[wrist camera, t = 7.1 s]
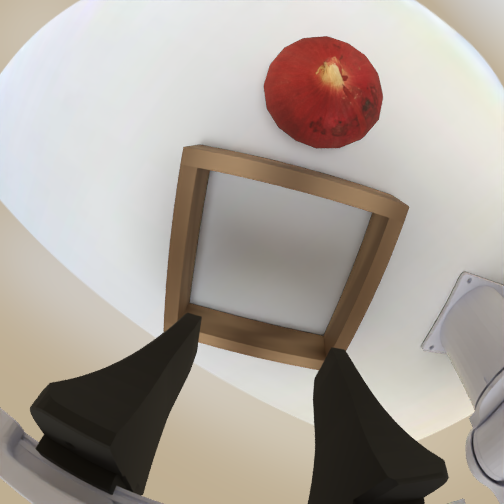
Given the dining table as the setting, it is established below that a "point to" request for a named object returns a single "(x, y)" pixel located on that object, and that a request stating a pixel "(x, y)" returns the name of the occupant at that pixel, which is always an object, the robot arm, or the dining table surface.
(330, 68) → the onion
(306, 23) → the dining table surface
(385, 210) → the box
